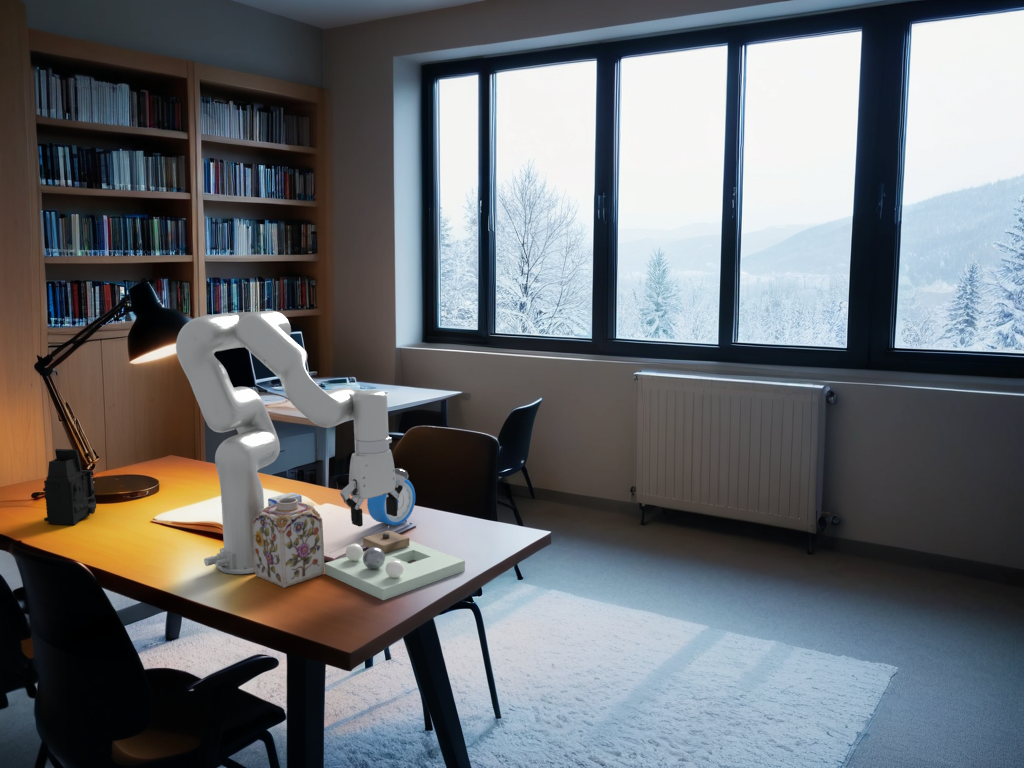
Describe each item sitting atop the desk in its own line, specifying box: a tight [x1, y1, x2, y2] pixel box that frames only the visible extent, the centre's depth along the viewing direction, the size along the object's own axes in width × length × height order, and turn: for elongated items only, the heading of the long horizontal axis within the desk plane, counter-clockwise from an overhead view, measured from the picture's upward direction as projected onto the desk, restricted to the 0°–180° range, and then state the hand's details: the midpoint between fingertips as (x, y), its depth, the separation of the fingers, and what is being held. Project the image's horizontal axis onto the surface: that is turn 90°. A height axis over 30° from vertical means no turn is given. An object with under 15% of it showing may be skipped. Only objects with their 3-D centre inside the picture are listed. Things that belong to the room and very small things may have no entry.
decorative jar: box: [253, 498, 325, 589], centre depth 198 cm, size 12×12×18 cm
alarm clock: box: [366, 467, 416, 527], centre depth 235 cm, size 13×6×15 cm, turn 143°
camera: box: [42, 448, 97, 526], centre depth 239 cm, size 10×14×20 cm
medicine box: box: [267, 492, 303, 507], centre depth 232 cm, size 8×4×9 cm, turn 141°
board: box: [324, 539, 466, 601], centre depth 201 cm, size 24×22×2 cm
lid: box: [362, 530, 410, 553], centre depth 210 cm, size 8×8×3 cm
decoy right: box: [386, 560, 404, 578], centre depth 191 cm, size 4×4×4 cm
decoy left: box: [345, 543, 364, 561], centre depth 201 cm, size 4×4×4 cm
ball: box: [363, 547, 385, 570], centre depth 196 cm, size 5×5×5 cm
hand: (374, 520), depth 194 cm, fingers open, 9 cm apart
